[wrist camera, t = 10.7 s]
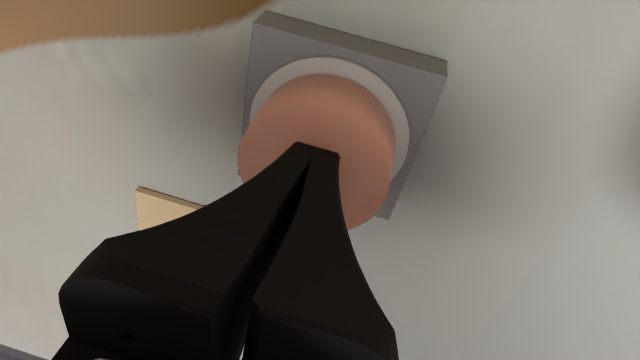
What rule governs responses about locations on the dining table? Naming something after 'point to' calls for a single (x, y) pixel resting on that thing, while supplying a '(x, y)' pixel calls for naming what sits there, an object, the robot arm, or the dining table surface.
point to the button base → (352, 64)
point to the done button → (327, 137)
